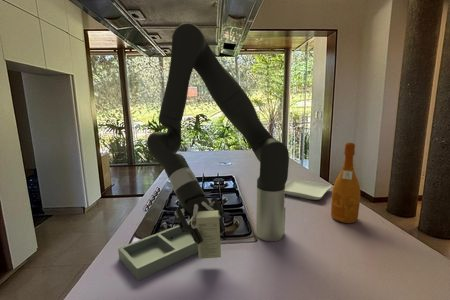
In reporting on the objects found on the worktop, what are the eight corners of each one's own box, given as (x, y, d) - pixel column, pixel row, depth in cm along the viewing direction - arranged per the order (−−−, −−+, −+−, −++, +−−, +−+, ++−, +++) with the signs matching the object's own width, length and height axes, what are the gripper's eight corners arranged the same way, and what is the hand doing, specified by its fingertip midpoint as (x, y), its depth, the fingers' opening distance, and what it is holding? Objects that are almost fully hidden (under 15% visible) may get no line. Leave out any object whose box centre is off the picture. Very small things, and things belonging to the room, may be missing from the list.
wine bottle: (324, 215, 105) (330, 141, 99) (343, 211, 108) (349, 140, 103) (344, 226, 96) (351, 145, 90) (363, 221, 99) (371, 143, 94)
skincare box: (220, 249, 76) (219, 209, 73) (221, 258, 71) (220, 216, 69) (198, 249, 76) (196, 210, 73) (197, 259, 71) (195, 217, 69)
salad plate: (292, 183, 145) (292, 178, 145) (332, 191, 133) (332, 184, 133) (276, 195, 128) (276, 188, 128) (320, 204, 116) (321, 197, 116)
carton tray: (189, 230, 94) (189, 221, 93) (212, 244, 84) (212, 234, 84) (119, 258, 77) (118, 248, 77) (138, 280, 68) (137, 268, 67)
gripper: (168, 185, 70) (196, 242, 64) (210, 174, 80) (237, 223, 73) (160, 199, 75) (185, 252, 69) (200, 187, 85) (225, 233, 78)
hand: (212, 237), depth 71 cm, fingers closed on skincare box, 7 cm apart
